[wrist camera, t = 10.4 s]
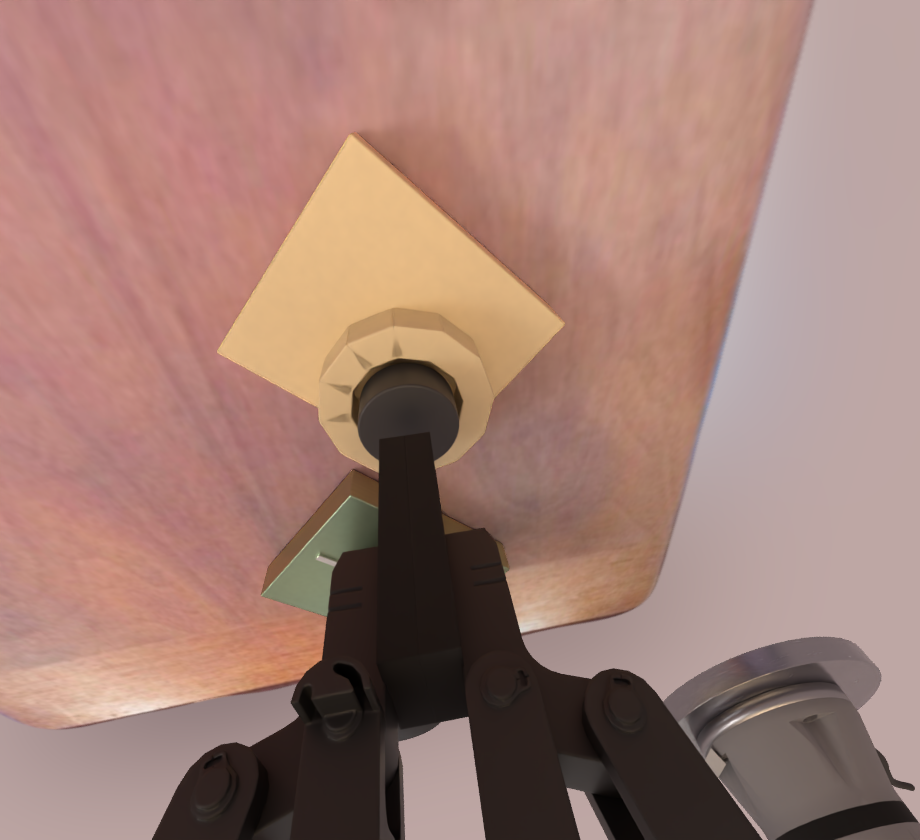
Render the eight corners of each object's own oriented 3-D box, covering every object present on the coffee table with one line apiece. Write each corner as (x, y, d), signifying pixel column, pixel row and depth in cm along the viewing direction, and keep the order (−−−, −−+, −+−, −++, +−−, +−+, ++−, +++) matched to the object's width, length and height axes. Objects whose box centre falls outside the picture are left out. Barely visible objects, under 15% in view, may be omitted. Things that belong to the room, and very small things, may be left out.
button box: (549, 305, 20) (582, 342, 16) (421, 444, 23) (427, 499, 20) (354, 131, 15) (346, 133, 12) (229, 334, 18) (195, 381, 15)
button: (472, 394, 17) (480, 419, 16) (416, 454, 19) (419, 482, 17) (396, 343, 16) (397, 365, 14) (340, 413, 17) (336, 439, 16)
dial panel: (504, 542, 28) (512, 570, 26) (415, 619, 31) (417, 649, 29) (353, 467, 23) (350, 496, 21) (266, 567, 26) (258, 599, 25)
